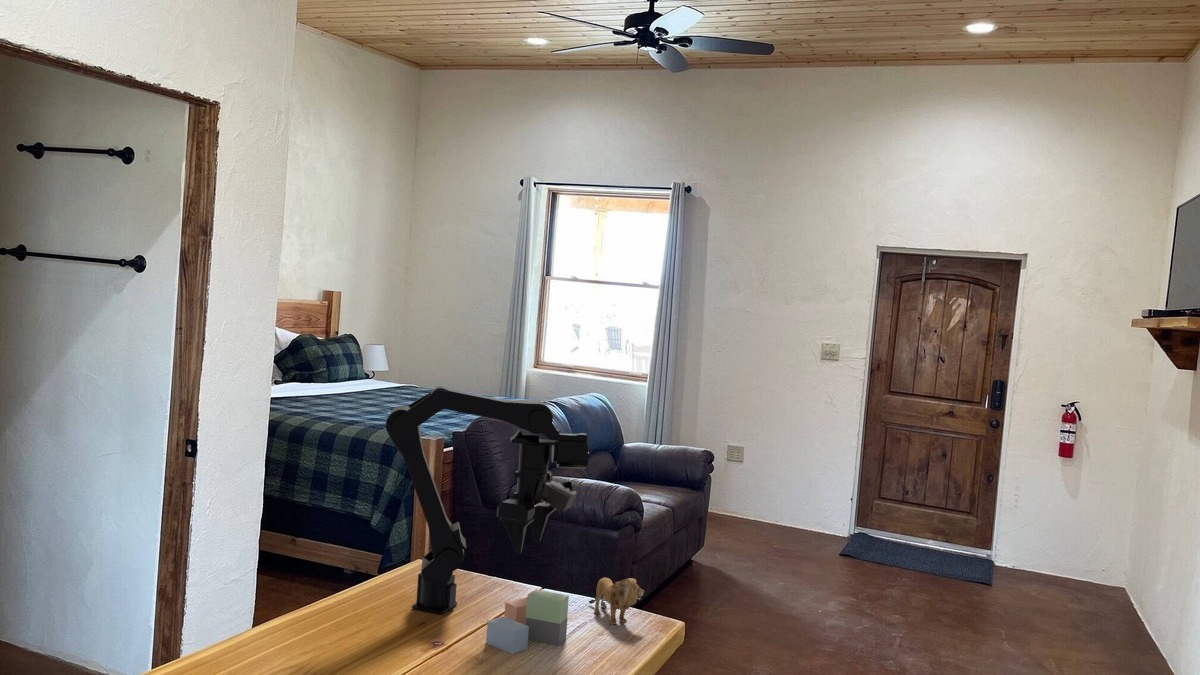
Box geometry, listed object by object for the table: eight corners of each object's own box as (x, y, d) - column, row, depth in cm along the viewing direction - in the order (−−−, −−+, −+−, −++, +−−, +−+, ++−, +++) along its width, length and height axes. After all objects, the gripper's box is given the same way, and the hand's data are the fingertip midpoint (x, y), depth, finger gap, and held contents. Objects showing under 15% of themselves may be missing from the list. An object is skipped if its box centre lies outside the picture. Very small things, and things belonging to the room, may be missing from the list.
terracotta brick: (515, 629, 169) (516, 607, 168) (503, 623, 171) (505, 601, 171) (543, 623, 173) (544, 601, 173) (531, 617, 176) (533, 596, 175)
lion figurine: (645, 627, 174) (648, 580, 174) (622, 631, 171) (626, 583, 170) (598, 603, 186) (602, 559, 185) (577, 607, 183) (580, 562, 182)
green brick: (525, 617, 163) (527, 595, 163) (534, 611, 167) (535, 589, 167) (559, 623, 161) (561, 601, 161) (567, 617, 165) (568, 595, 164)
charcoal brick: (524, 639, 164) (526, 617, 163) (532, 633, 167) (534, 611, 167) (558, 646, 161) (560, 623, 161) (566, 639, 165) (567, 617, 165)
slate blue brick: (486, 643, 161) (487, 621, 160) (500, 638, 163) (502, 616, 163) (512, 654, 157) (514, 631, 156) (527, 649, 159) (528, 626, 159)
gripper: (554, 479, 167) (548, 565, 168) (588, 464, 185) (583, 542, 185) (498, 472, 171) (492, 556, 171) (537, 458, 188) (532, 534, 189)
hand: (528, 546), depth 179 cm, fingers open, 9 cm apart
